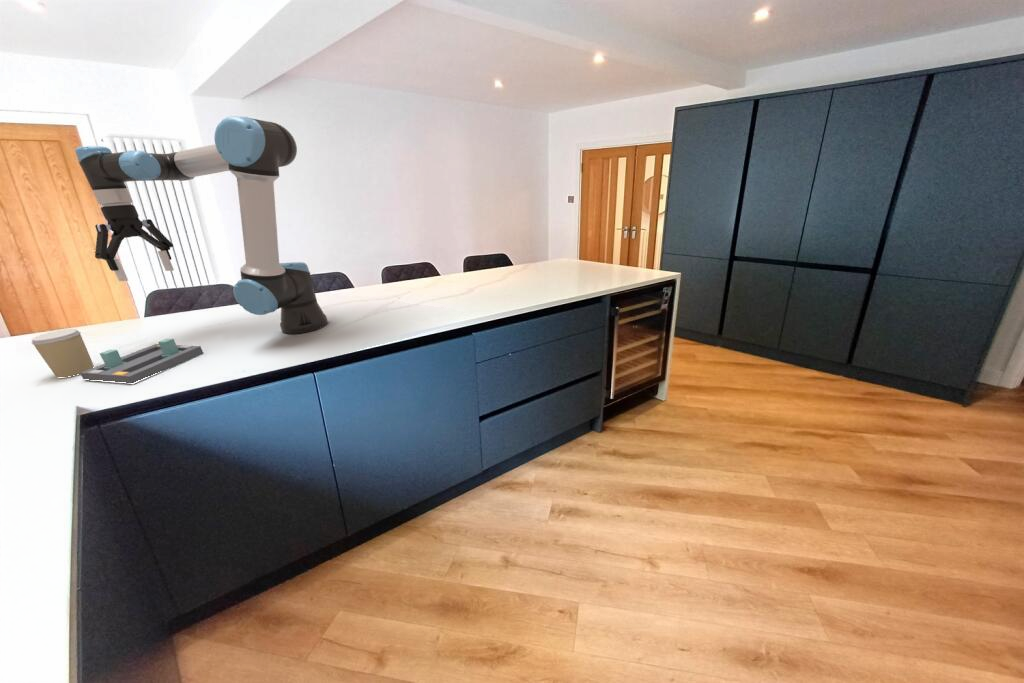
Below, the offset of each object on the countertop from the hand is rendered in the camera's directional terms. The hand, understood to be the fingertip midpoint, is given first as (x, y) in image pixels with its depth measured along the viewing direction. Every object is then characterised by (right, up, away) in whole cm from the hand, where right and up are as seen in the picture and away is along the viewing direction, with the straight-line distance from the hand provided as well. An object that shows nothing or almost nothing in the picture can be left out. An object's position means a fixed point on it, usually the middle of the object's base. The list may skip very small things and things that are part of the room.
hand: (148, 275), depth 123 cm
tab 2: (+14, -26, -6) cm, 30 cm away
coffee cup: (-12, -30, -10) cm, 34 cm away
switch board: (+8, -28, -9) cm, 31 cm away
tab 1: (+3, -29, -12) cm, 31 cm away
